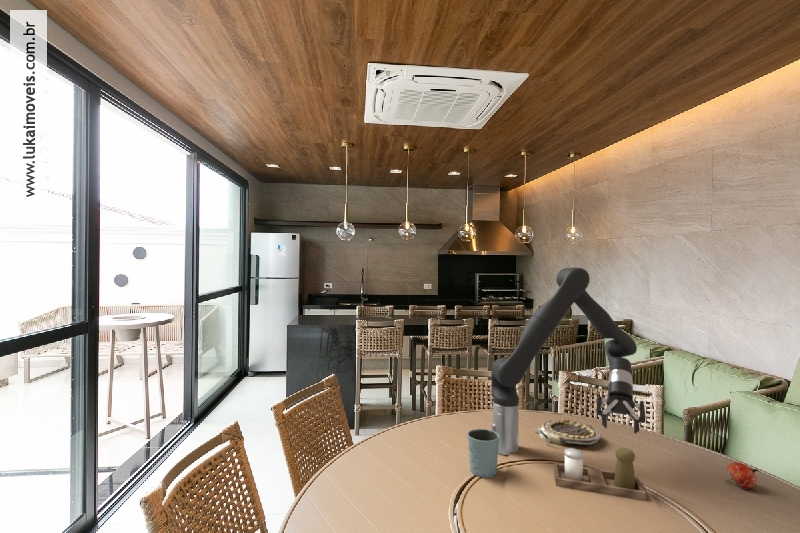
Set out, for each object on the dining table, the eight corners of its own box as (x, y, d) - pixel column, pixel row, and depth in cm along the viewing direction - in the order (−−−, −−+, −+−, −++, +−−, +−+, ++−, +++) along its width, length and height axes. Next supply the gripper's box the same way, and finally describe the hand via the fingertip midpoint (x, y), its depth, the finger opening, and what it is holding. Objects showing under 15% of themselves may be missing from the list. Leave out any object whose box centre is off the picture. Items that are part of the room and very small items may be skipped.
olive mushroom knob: (639, 492, 119) (640, 454, 120) (617, 489, 120) (617, 452, 121) (631, 481, 125) (631, 445, 125) (610, 479, 126) (610, 444, 126)
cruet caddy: (555, 488, 122) (555, 478, 122) (553, 472, 133) (553, 462, 133) (646, 503, 115) (646, 493, 115) (636, 484, 125) (636, 475, 125)
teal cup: (501, 468, 135) (502, 431, 135) (495, 482, 126) (495, 443, 126) (471, 461, 139) (472, 426, 139) (463, 474, 130) (464, 437, 130)
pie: (563, 422, 180) (563, 410, 180) (625, 445, 157) (625, 432, 157) (520, 434, 165) (520, 422, 165) (581, 462, 142) (581, 448, 142)
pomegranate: (729, 495, 125) (763, 485, 119) (712, 469, 129) (744, 459, 123) (736, 490, 129) (770, 481, 123) (720, 466, 133) (752, 456, 127)
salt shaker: (565, 482, 124) (565, 454, 124) (563, 474, 129) (564, 447, 129) (583, 485, 123) (583, 456, 123) (581, 477, 128) (581, 449, 128)
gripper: (597, 377, 143) (595, 420, 132) (644, 383, 136) (646, 428, 126) (597, 388, 147) (596, 431, 137) (643, 394, 141) (645, 439, 130)
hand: (620, 429), depth 131 cm, fingers open, 8 cm apart
